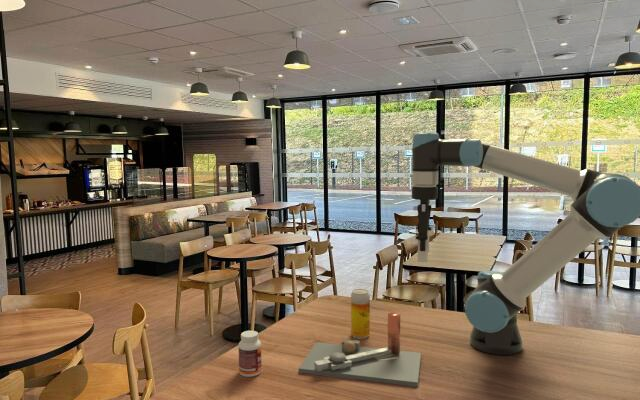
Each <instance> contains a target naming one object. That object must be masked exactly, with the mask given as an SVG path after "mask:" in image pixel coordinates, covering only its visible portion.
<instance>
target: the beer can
mask: <svg viewBox="0 0 640 400" xmlns="http://www.w3.org/2000/svg"><path fill="white" fill-rule="evenodd" d="M370 295H371V294H370V293H369V290H367V289H364V288H363V289H362V288H357V289H356V288H355V289H353V290H352V291H351V294H350V334H351V336H352V338H354V339H357V340H364V339H367V338H368V337H369V335H370V330H371V329H370V327H371V326H370V325H371V323H370V321H371V319H370V317H371V315H370V314H371V312H370V311H371V310H370V309H371V308H370V306H371V305H370V303H371V301H370V298H371V296H370Z"/></svg>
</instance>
